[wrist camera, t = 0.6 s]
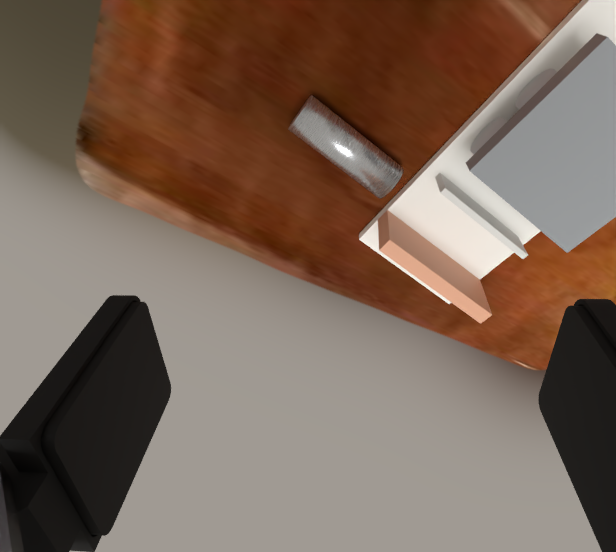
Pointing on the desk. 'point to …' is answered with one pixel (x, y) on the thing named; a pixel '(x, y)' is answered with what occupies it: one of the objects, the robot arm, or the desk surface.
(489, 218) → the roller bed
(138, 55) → the desk surface
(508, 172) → the slab
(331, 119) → the roller
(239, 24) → the desk surface
